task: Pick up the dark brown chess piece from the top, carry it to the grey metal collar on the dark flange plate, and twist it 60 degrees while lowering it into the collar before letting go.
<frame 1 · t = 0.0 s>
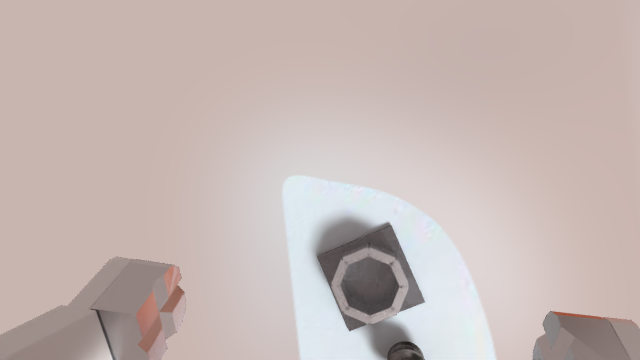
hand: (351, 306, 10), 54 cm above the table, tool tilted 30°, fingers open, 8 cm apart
duct collar: (370, 278, 64), on the table
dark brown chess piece: (405, 358, 63), on the table
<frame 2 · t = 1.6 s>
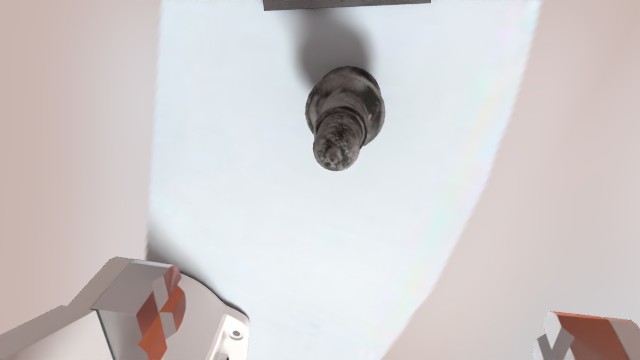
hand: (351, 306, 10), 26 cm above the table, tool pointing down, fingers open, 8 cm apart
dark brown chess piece: (348, 98, 35), on the table
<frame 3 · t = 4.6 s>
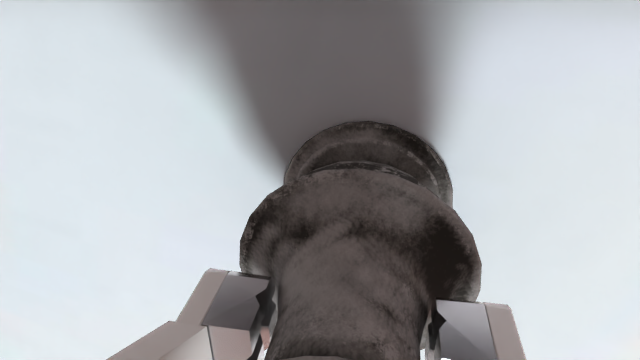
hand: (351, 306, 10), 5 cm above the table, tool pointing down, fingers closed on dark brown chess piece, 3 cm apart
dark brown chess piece: (365, 196, 14), on the table, touching gripper
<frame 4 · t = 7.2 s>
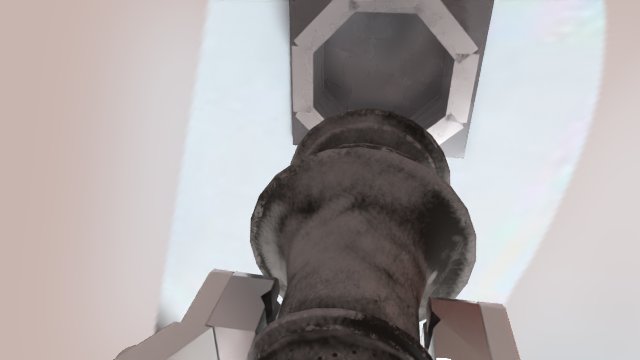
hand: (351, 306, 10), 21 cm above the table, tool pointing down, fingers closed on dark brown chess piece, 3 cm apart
duct collar: (383, 64, 28), on the table
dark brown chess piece: (368, 180, 14), point 16 cm above the table, touching gripper
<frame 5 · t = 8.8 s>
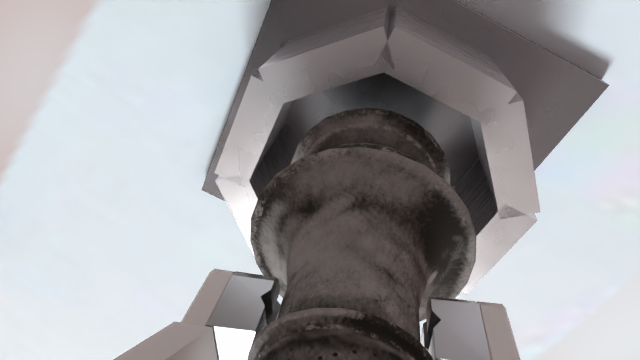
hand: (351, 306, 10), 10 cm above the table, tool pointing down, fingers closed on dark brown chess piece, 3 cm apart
duct collar: (376, 139, 18), on the table
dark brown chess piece: (368, 180, 14), point 4 cm above the table, touching gripper
when the fingers open (7 cm above the table, at t = 10.0 s): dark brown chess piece stays where it is, resting on duct collar.
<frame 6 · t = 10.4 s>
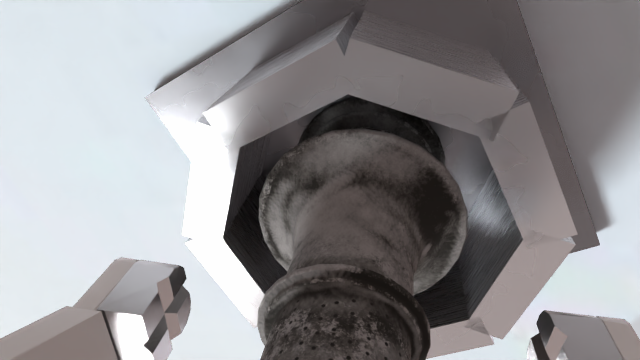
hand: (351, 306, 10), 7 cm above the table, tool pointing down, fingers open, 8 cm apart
duct collar: (372, 163, 16), on the table
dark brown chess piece: (368, 166, 15), resting on duct collar
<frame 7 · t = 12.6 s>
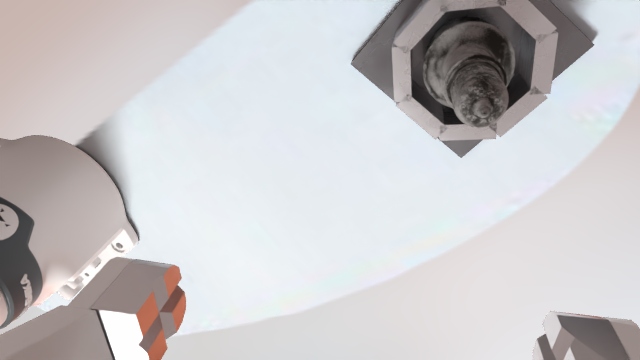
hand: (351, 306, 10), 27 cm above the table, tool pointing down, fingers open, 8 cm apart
duct collar: (464, 53, 32), on the table
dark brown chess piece: (462, 53, 31), resting on duct collar
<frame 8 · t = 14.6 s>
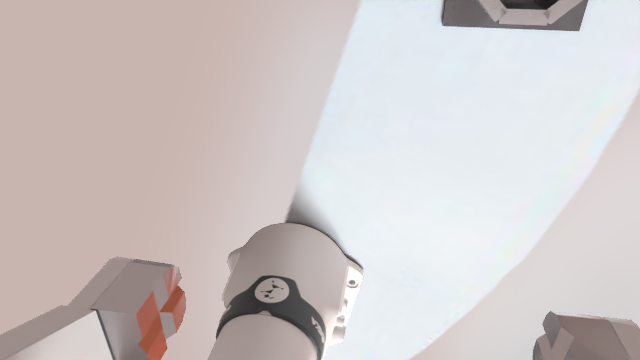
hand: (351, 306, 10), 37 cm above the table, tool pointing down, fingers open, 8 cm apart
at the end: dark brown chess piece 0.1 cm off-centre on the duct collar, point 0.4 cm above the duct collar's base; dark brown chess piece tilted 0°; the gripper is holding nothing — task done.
